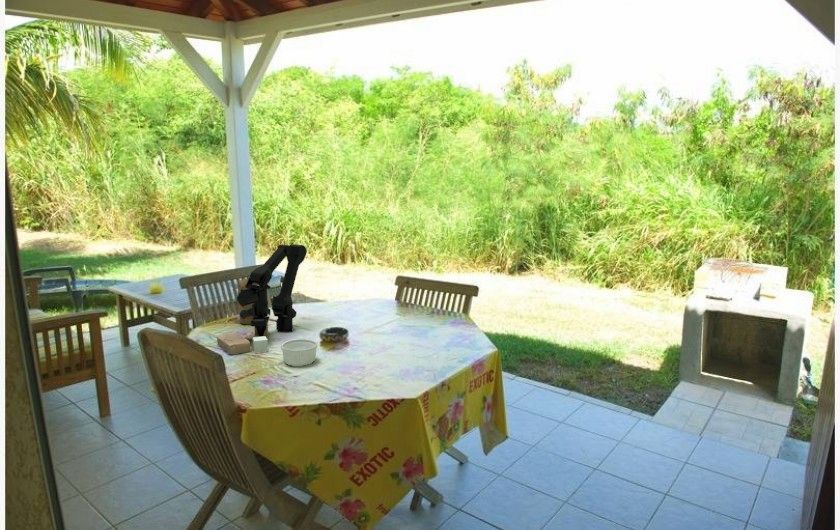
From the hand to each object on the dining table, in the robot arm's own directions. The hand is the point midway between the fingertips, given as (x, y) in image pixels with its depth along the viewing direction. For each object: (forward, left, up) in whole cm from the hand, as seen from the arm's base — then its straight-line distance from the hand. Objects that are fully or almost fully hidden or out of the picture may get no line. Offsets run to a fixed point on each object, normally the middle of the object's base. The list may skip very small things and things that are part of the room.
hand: (261, 336), depth 237 cm
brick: (+10, +10, -2) cm, 14 cm away
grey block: (-1, +14, -1) cm, 14 cm away
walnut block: (0, 0, -1) cm, 1 cm away
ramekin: (-17, +28, -2) cm, 33 cm away
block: (+9, -26, -1) cm, 28 cm away
